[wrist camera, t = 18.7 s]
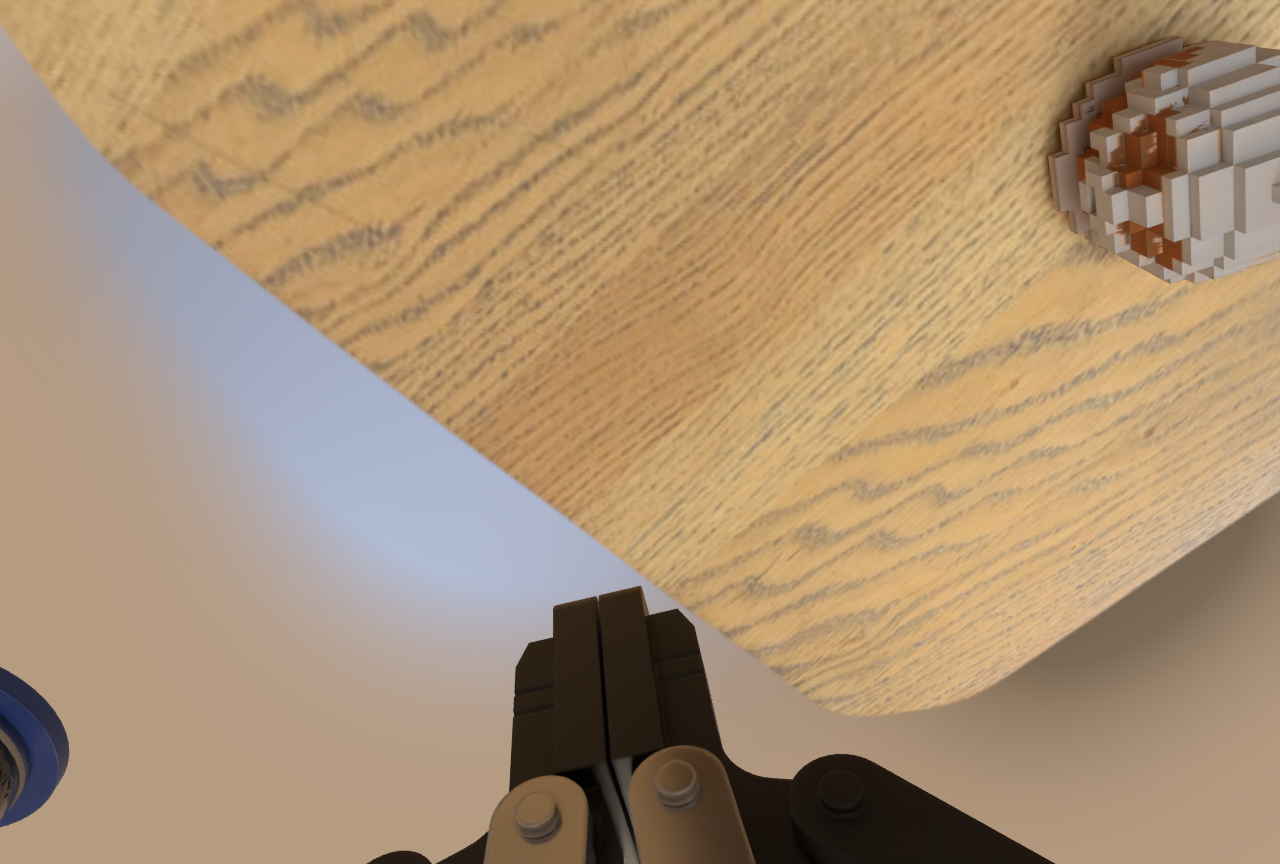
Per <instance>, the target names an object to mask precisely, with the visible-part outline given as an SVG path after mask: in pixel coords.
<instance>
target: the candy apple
mask: <svg viewBox="0 0 1280 864" xmlns="http://www.w3.org/2000/svg"><path fill="white" fill-rule="evenodd" d="M1114 71H1115V73H1112V74H1109V75H1107V76H1104V77H1101V78H1098V79H1095V80H1093V81H1090V82H1087V83H1085V85H1086V96H1087V98H1085V99H1082V100H1079V101H1077V102H1074V103H1072V106H1073V117H1074V118H1071V119H1068V120H1065V121H1062V122H1060V123H1059V125H1060V134H1061V144H1062V151H1060V152H1057V153H1054V154H1052V155H1049V156H1048V159H1049V168H1050V177H1051V186H1052V195H1053V204H1054V210H1056V211H1058V212H1060V213H1062V212H1065V211H1068V212H1069V221H1070V230H1071V231H1073V232H1074V233H1076V234H1079V233H1082V232H1085V239H1087V240H1089V241H1091V242H1094V241H1097V240H1099V245H1100V247H1102V248H1104V249H1106V250H1109V251H1111V252H1112V253H1114V254H1116V255H1118V256H1119V257H1121V258H1123V259H1125V260H1127V261H1129V262H1130V263H1132V264H1134V265H1136V266H1138V267H1140V268H1142V269H1144V270H1146V271H1147V272H1149V273H1151V274H1153V275H1154V276H1156V277H1158V278H1160V279H1162V280H1164V281H1166V282H1168V283H1170V284H1173V283H1176V282H1179V281H1182V280H1185V279H1186V280H1188V281H1190V282H1192V283H1194V284H1196V283H1199V282H1202V281H1205V280H1208V279H1214V280H1215V279H1218V278H1221V277H1224V276H1227V275H1230V274H1233V273H1236V272H1239V271H1242V270H1245V269H1248V268H1251V267H1254V266H1257V265H1260V264H1263V263H1266V262H1269V261H1272V260H1275V259H1277V252H1280V50H1277V49H1269V48H1260V47H1256V46H1253V45H1245V44H1236V43H1228V42H1219V41H1201V42H1199V43H1196V44H1193V45H1190V46H1187V47H1185V48H1183V43H1182V37H1177V36H1172V37H1169V38H1166V39H1164V40H1161V41H1158V42H1155V43H1152V44H1150V45H1147V46H1144V47H1141V48H1139V49H1136V50H1133V51H1130V52H1127V53H1125V54H1122V55H1119V56H1116V57H1114Z"/></svg>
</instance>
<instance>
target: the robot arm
mask: <svg viewBox="0 0 1280 864" xmlns="http://www.w3.org/2000/svg"><path fill="white" fill-rule="evenodd" d="M514 692H515V697H514V710H513V711H514V717H513V729H512V749H511V767H510V786H509V793H508V794H507V795H506V796H505V797H504V798H503V799H502V800H501V801H500V803H499V804H498V806H497V807H496V809H495V811H494V813H493V815H492V818H491V821H490V826H489V831H488V832H486V833H485V835H483V836H482V837H481V838H480V839H478V840H477V841H476V842H474V843H473V844H471V845H470V846H468V847H466V848H464V849H463V850H461V851H459V852H457V853H455V854H453V855H451V856H449V857H448V858H446V859H444V860H442V861H440V862H438V863H436V864H1055V863H1053V862H1051V861H1049V860H1048V859H1046V858H1044V857H1042V856H1041V855H1039V854H1037V853H1035V852H1033V851H1032V850H1030V849H1028V848H1026V847H1024V846H1022V845H1021V844H1019V843H1017V842H1015V841H1014V840H1011V839H1010V838H1008V837H1006V836H1005V835H1003V834H1001V833H999V832H997V831H996V830H994V829H992V828H990V827H988V826H987V825H985V824H983V823H981V822H979V821H978V820H976V819H974V818H972V817H971V816H969V815H967V814H965V813H963V812H961V811H960V810H958V809H956V808H955V807H953V806H951V805H949V804H947V803H946V802H944V801H942V800H940V799H938V798H937V797H935V796H933V795H931V794H929V793H928V792H926V791H924V790H922V789H921V788H919V787H917V786H915V785H913V784H911V783H909V782H908V781H906V780H904V779H903V778H901V777H899V776H897V775H895V774H894V773H892V772H890V771H888V770H886V769H885V768H883V767H881V766H879V765H878V764H876V763H874V762H872V761H870V760H868V759H866V758H862V757H859V756H855V755H849V754H834V755H827V756H824V757H820V758H818V759H816V760H813V761H811V762H810V763H808V764H807V765H805V766H804V767H803V768H802V769H801V770H800V771H799V772H798V773H797V774H796V776H795V777H794V779H793V780H791V779H777V778H776V779H775V778H767V777H761V776H757V775H754V774H751V773H749V772H746V771H744V770H743V769H741V768H739V767H738V766H736V765H735V764H734V763H733V762H732V761H731V760H730V759H729V758H728V757H727V755H726V754H725V752H724V750H723V748H722V743H721V739H720V735H719V730H718V725H717V721H716V717H715V712H714V708H713V703H712V699H711V695H710V690H709V686H708V682H707V678H706V673H705V669H704V665H703V661H702V657H701V652H700V648H699V644H698V640H697V636H696V631H695V628H694V625H693V624H692V623H691V622H690V621H689V620H688V619H687V618H686V617H685V616H684V615H683V614H682V613H681V612H680V611H679V610H678V609H674V610H670V611H665V612H661V613H656V614H652V615H649V612H648V608H647V605H646V601H645V598H644V594H643V590H642V587H641V586H637V587H633V588H629V589H624V590H620V591H616V592H611V593H607V594H603V595H599V601H598V599H597V597H596V596H595V597H591V598H586V599H582V600H577V601H573V602H569V603H564V604H560V605H556V606H554V608H553V638H549V639H544V640H540V641H536V642H531V643H529V644H528V646H527V648H526V650H525V651H524V653H523V655H522V657H521V659H520V661H519V663H518V665H517V666H516V672H515V691H514ZM30 773H31V761H30V756H29V752H28V750H27V747H26V745H25V743H24V741H23V740H22V738H21V737H20V735H19V734H18V732H17V731H16V730H15V729H14V728H13V727H12V726H11V725H10V724H9V723H8V722H7V721H6V720H5V719H4V718H3V717H2V716H0V821H1V819H2V818H3V816H4V815H5V813H6V812H7V811H8V810H9V809H10V808H11V807H12V806H13V805H14V803H15V802H16V800H17V799H18V797H19V796H20V794H21V793H22V791H23V790H24V788H25V786H26V785H27V783H28V780H29V777H30ZM367 864H432V863H431V862H430V861H429V860H428V859H427V858H426V857H425V856H423V855H422V854H419V853H417V852H412V851H396V852H391V853H388V854H385V855H382V856H380V857H378V858H376V859H374V860H372V861H371V862H369V863H367Z"/></svg>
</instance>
